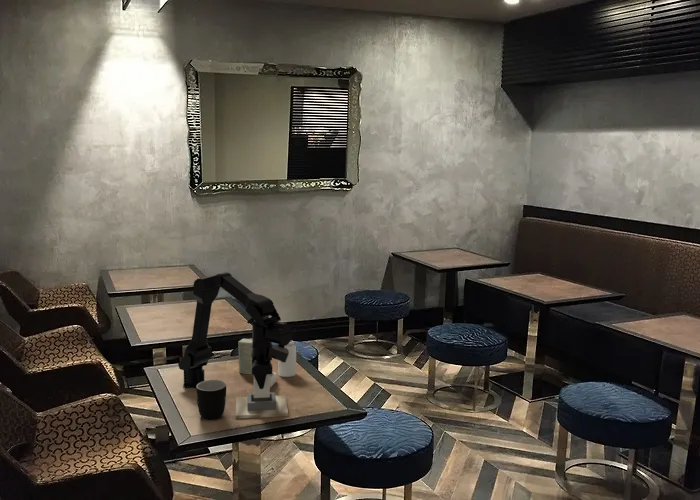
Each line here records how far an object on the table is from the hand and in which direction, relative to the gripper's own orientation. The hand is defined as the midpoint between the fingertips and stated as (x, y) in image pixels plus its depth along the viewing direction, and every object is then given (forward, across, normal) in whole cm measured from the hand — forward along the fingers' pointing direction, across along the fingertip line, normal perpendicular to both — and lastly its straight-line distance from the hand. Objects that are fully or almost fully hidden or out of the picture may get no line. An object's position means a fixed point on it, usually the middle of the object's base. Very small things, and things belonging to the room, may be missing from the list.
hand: (261, 386), depth 197 cm
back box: (+7, 0, 0) cm, 7 cm away
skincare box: (+8, +33, +4) cm, 34 cm away
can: (+8, +29, -10) cm, 32 cm away
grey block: (+3, 0, 0) cm, 3 cm away
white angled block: (+8, +21, -3) cm, 22 cm away
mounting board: (+7, 0, 0) cm, 7 cm away
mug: (+8, -3, +16) cm, 18 cm away
